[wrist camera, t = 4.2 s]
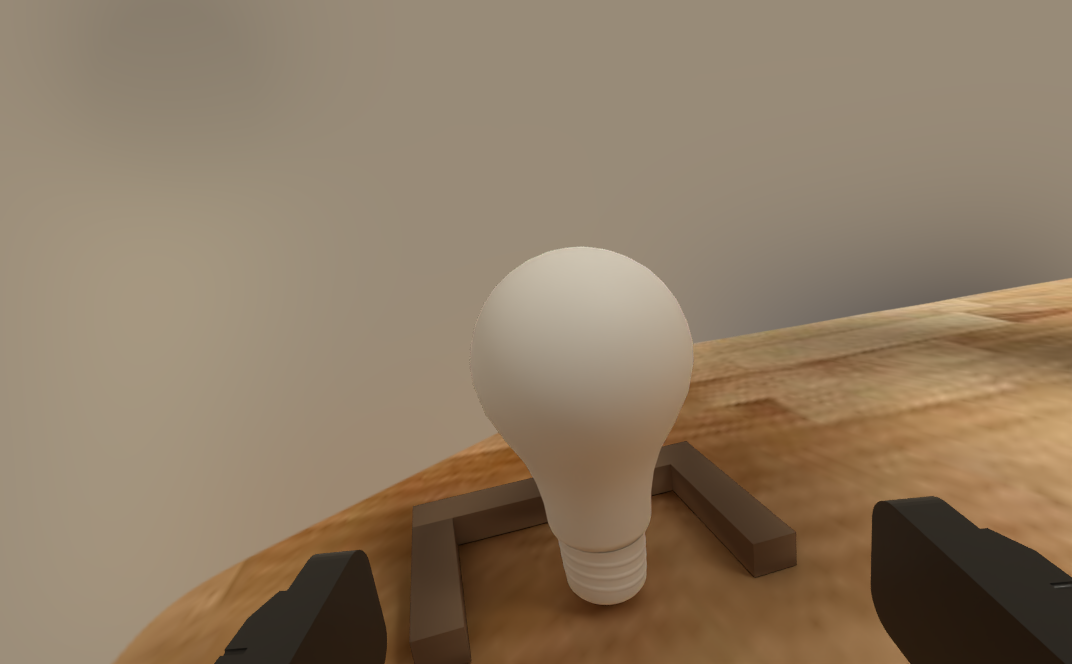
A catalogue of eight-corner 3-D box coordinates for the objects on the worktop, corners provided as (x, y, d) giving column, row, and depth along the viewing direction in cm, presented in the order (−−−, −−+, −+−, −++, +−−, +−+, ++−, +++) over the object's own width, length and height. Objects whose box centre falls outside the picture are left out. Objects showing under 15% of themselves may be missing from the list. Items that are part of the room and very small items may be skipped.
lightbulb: (555, 720, 13) (483, 277, 10) (492, 568, 18) (435, 260, 16) (756, 627, 14) (740, 230, 12) (642, 515, 20) (613, 230, 17)
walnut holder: (687, 465, 23) (686, 441, 23) (796, 564, 16) (795, 532, 16) (418, 532, 21) (412, 506, 21) (418, 677, 14) (409, 642, 14)
